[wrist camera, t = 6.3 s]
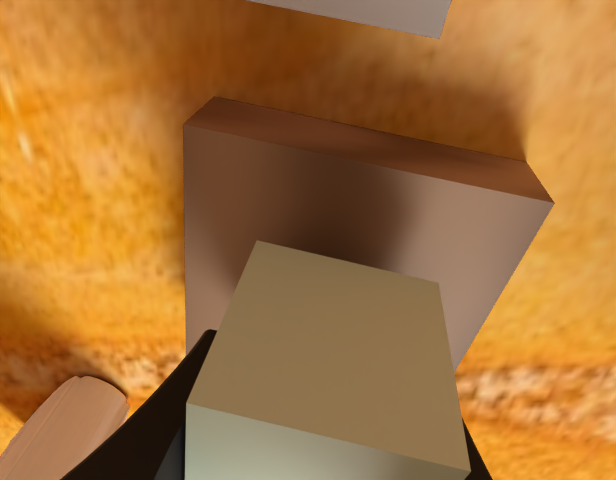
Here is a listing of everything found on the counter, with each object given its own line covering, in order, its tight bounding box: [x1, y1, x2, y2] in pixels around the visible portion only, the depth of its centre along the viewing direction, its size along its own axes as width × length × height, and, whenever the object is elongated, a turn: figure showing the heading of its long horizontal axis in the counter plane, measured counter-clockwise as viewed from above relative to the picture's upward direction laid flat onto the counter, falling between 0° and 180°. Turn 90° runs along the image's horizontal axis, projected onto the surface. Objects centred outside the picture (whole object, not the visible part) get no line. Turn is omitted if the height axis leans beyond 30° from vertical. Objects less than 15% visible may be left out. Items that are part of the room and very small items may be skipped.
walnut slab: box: [183, 97, 555, 372], centre depth 15 cm, size 10×10×3 cm
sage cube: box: [185, 240, 471, 480], centre depth 11 cm, size 5×5×5 cm
